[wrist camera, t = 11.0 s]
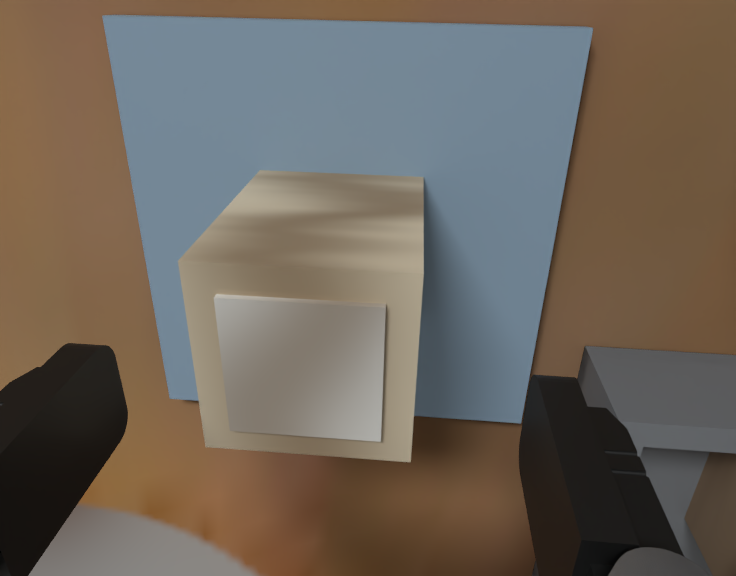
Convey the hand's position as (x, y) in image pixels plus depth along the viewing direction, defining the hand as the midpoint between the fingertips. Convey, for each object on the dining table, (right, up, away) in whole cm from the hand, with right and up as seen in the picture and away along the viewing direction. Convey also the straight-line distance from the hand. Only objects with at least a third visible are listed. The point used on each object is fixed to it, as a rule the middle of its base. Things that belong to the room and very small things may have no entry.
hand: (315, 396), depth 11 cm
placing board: (0, +4, +6) cm, 7 cm away
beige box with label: (0, +3, +6) cm, 7 cm away
